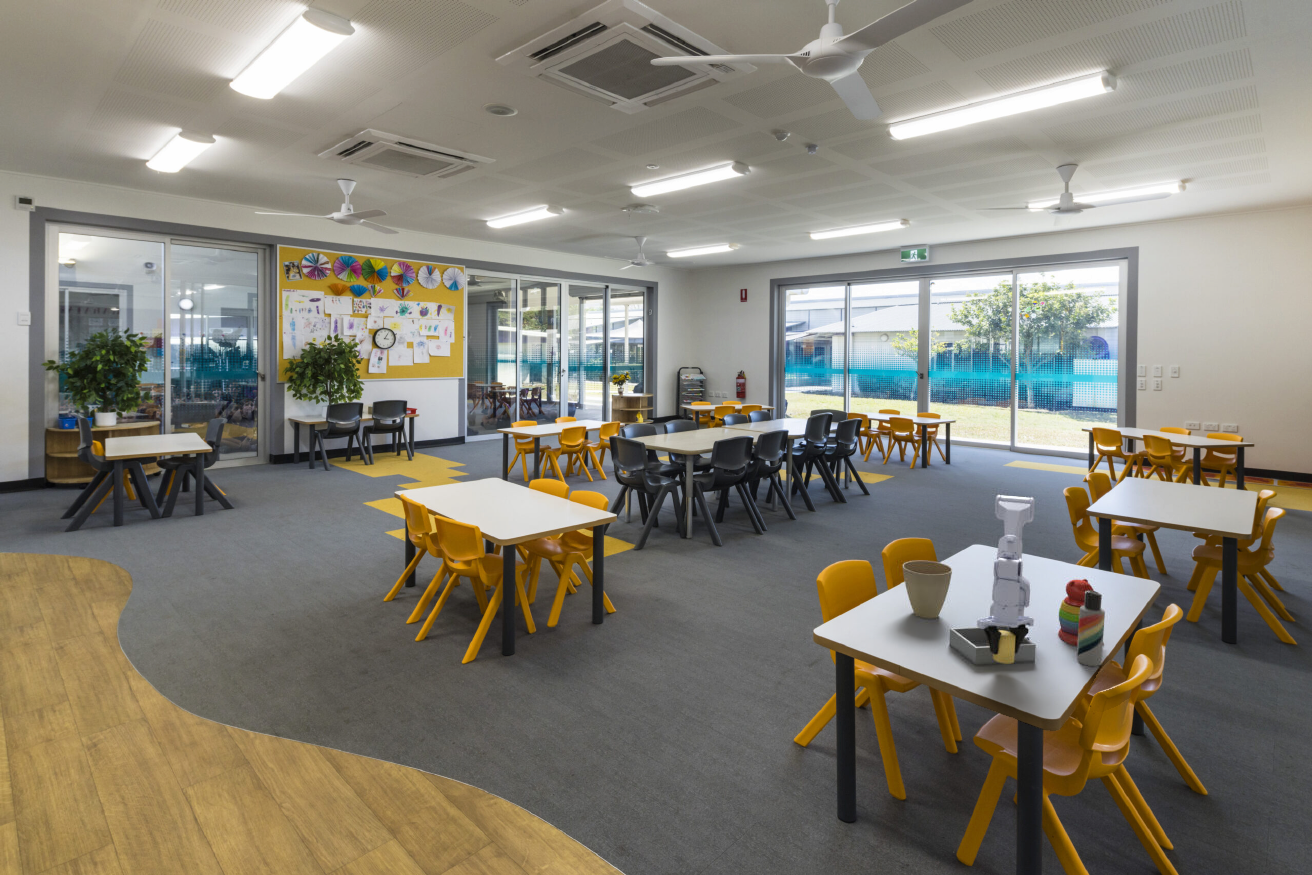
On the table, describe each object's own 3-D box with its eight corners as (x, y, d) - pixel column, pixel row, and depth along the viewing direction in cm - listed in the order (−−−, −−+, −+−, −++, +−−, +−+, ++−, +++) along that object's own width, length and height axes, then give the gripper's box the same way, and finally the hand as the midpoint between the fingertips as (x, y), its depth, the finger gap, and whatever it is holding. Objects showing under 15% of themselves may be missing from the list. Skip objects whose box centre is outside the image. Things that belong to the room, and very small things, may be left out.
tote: (975, 665, 181) (975, 647, 181) (949, 644, 194) (950, 628, 194) (1034, 661, 183) (1035, 644, 182) (1005, 641, 196) (1006, 625, 195)
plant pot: (920, 602, 227) (922, 557, 226) (960, 616, 215) (962, 569, 213) (891, 612, 220) (892, 565, 218) (930, 627, 207) (932, 577, 205)
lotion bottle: (1073, 656, 186) (1078, 587, 183) (1097, 658, 184) (1102, 589, 182) (1080, 665, 180) (1084, 594, 178) (1104, 668, 179) (1109, 596, 176)
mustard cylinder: (989, 655, 179) (990, 630, 178) (1006, 654, 180) (1007, 629, 179) (1000, 664, 174) (1001, 638, 173) (1018, 663, 175) (1019, 637, 174)
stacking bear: (1073, 646, 192) (1077, 587, 190) (1047, 632, 202) (1051, 575, 200) (1106, 643, 194) (1110, 584, 192) (1079, 630, 204) (1083, 573, 202)
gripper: (989, 610, 170) (986, 660, 172) (1042, 607, 172) (1039, 657, 173) (973, 600, 177) (971, 648, 179) (1024, 597, 179) (1022, 645, 180)
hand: (1003, 652), depth 177 cm, fingers closed on mustard cylinder, 5 cm apart
